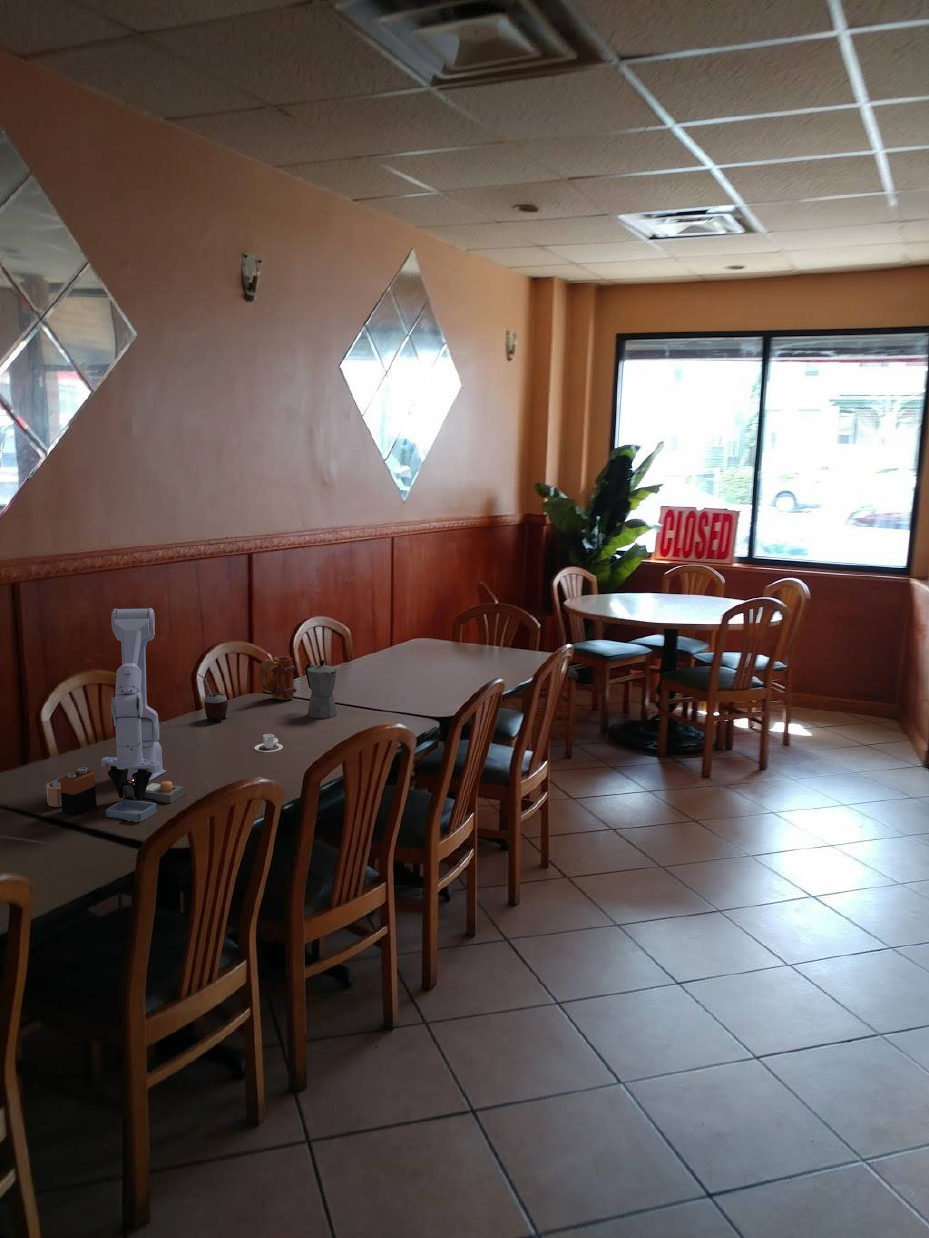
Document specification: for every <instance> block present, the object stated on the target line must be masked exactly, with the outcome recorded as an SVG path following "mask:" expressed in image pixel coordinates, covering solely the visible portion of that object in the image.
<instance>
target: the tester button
mask: <svg viewBox="0 0 929 1238" xmlns="http://www.w3.org/2000/svg"><path fill="white" fill-rule="evenodd" d="M159 784H160V792H167V793H169V792H171V791H172V785H173V782H172V781H170V780H164V781H161V782H159Z"/></svg>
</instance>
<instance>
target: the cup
mask: <svg viewBox="0 0 929 1238" xmlns="http://www.w3.org/2000/svg"><path fill="white" fill-rule="evenodd" d="M52 781H53V780H52ZM52 781H50V782H47V783H46V796H47V799H46V801H47V805H48V806H49V807H55V808H62V801H61V788H55V787H53V786H52Z"/></svg>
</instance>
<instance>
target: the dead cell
mask: <svg viewBox="0 0 929 1238" xmlns="http://www.w3.org/2000/svg"><path fill="white" fill-rule="evenodd" d="M64 776H65V775H63V776H57V778H56V779H53V780H52V786H53V787H55V788H61V785H60V778H62V777H64Z"/></svg>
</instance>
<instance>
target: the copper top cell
mask: <svg viewBox="0 0 929 1238" xmlns="http://www.w3.org/2000/svg"><path fill="white" fill-rule="evenodd" d="M122 788H123V798H122V800H123V799H127V800H134V801H138V800H137V798H136V787H135V783H134V779H128V780H127V781H125V782H123V783H122ZM140 801H142V800H140Z"/></svg>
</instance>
